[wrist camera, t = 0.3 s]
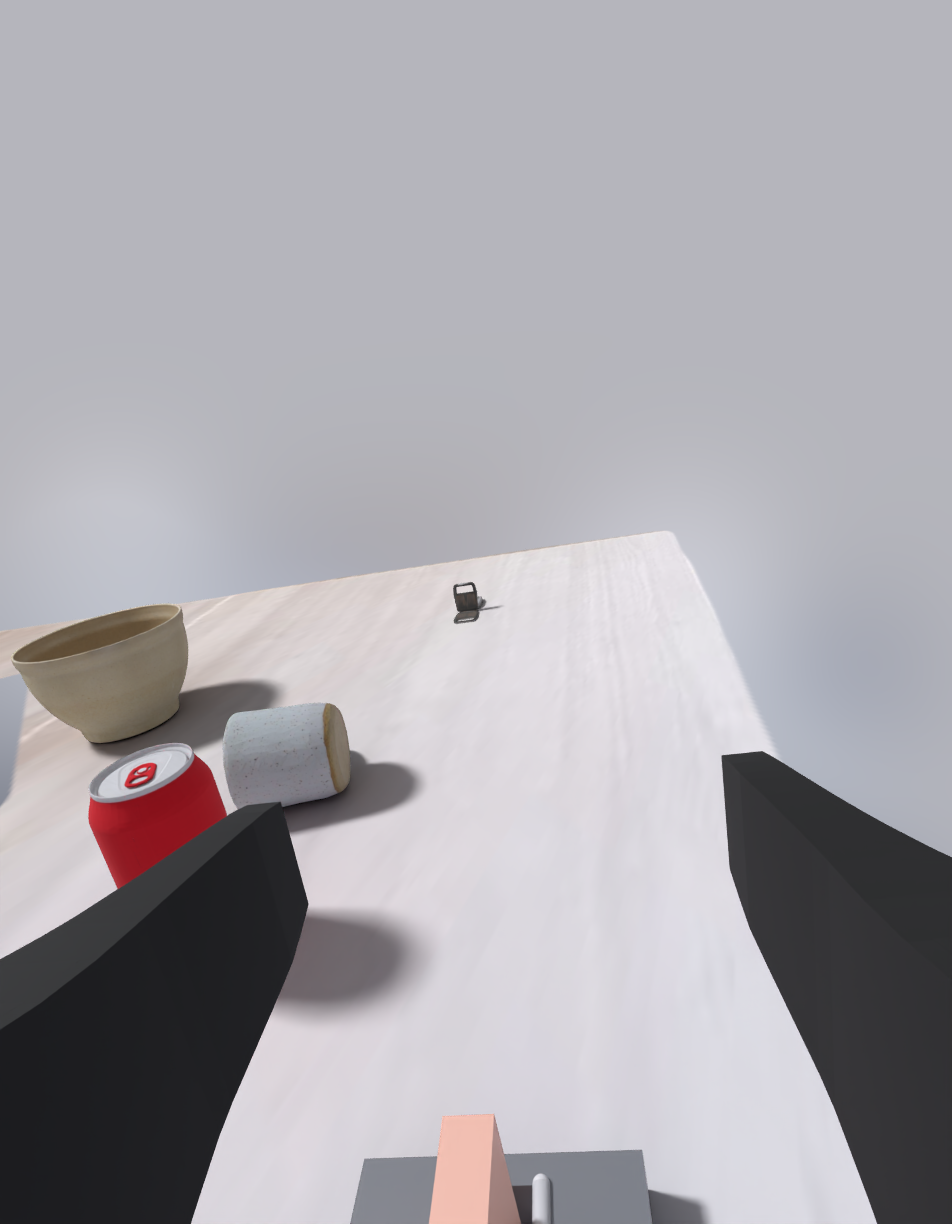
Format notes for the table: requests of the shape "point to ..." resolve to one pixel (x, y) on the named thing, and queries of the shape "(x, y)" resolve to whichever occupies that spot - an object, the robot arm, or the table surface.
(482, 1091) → the table surface
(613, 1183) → the slotted grey platform
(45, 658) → the planter bowl
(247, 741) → the ceramic mug
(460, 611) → the strap clip
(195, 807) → the beverage can
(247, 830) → the robot arm
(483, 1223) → the pink block
